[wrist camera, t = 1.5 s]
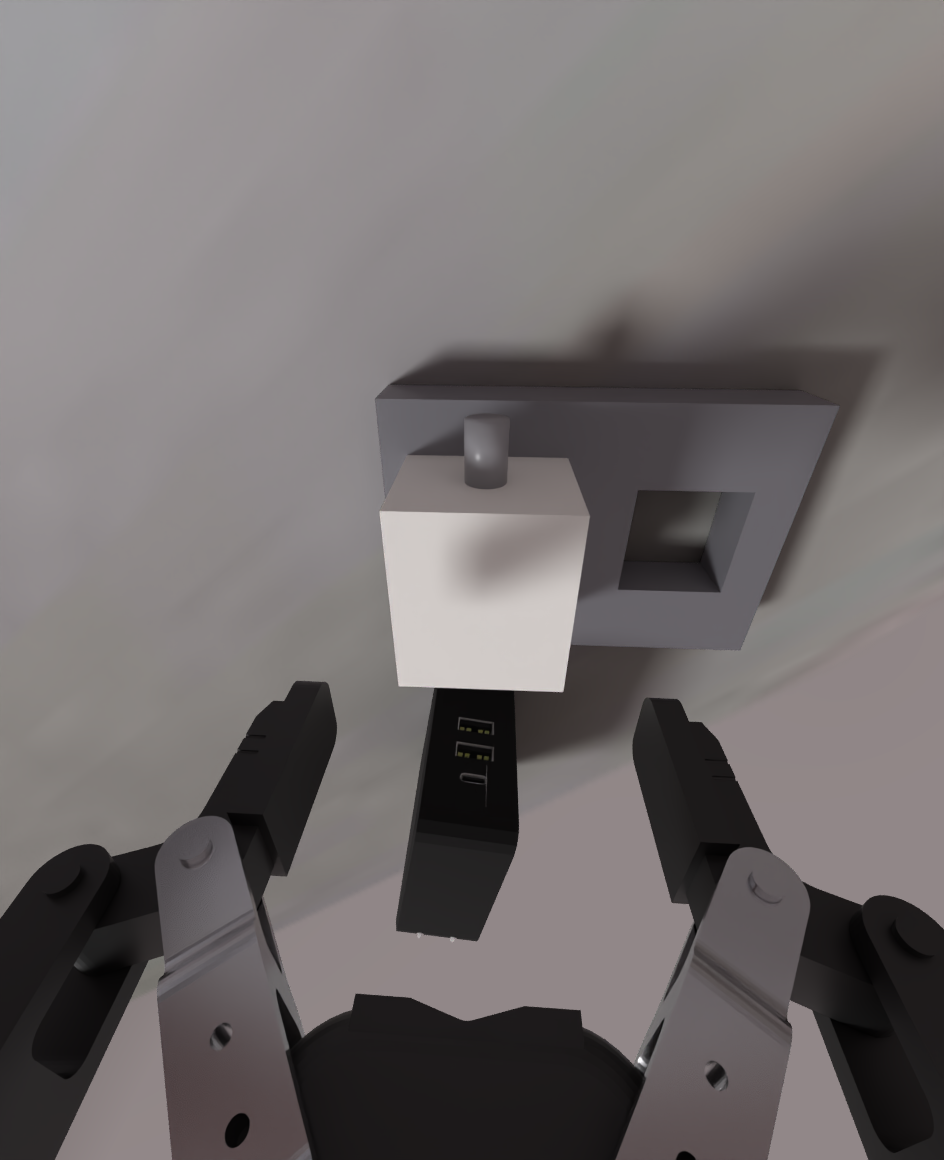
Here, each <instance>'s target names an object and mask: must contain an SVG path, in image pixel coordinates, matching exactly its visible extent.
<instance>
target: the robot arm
mask: <svg viewBox="0 0 944 1160" xmlns="http://www.w3.org/2000/svg"><path fill="white" fill-rule="evenodd" d="M336 734H337V723H336V717H335V713H334V708H333V703H332V698H331V694H330V689H329V685H328V683H326V682H312V681H296V682H295V683H294V684H293V686H292V688H291V689H290V691H289V693H288V695H287V697H286V699H285V701H273V702H271V703H270V704H269V705H268V706H267V707H266V708H265V709H264V710H263V711H262V712H260V713H259V714H258V715H257V716H256V718H255V719H254V721H253V723H252V725H251V727H250V728H249V730H248V732H247V734H246V738H244V739H243V741H242V742H241V744H240V746H239V748H238V749H237V750H238V752H237V753H235V755H234V757H233V758H232V760H231V762H230V764H229V765H228V767H227V769H226V771H225V772H224V774H223V776H222V778H221V780H220V781H219V783H218V785H217V787H216V788H215V790H214V792H213V794H212V795H211V797H210V799H209V801H208V802H207V804H206V806H205V808H204V809H203V811H202V813H201V814H200V815H199V817H198V818H196V819H194V820H192V821H189V822H188V823H186V824H184V825H182V826H181V827H180V828H178V829H177V830H176V831H174V832H173V833H172V834H171V835H170V836H169V837H168V838H167V839H166V841H165V842H164V843H162V844H159V845H155V846H152V847H148V848H144V849H140V850H136V851H132V852H129V853H125V854H121V855H117V856H113V857H111V856H110V855H109V853H108V852H107V851H106V849H105V848H103V847H102V846H99V845H95V844H86V845H80V846H76V847H73V848H70V849H68V850H66V851H64V852H62V853H60V854H58V855H57V856H55V857H53V858H52V859H51V860H49V861H48V862H46V863H45V864H44V865H43V866H42V867H41V868H39V869H38V870H37V871H36V872H35V873H34V874H33V876H32V877H31V878H30V879H29V881H28V882H27V883H26V885H25V886H24V887H23V889H22V890H21V891H20V893H19V894H18V895H17V897H16V898H15V900H14V901H13V902H12V904H11V905H10V906H9V908H8V909H7V910H6V912H5V913H4V915H3V916H2V917H1V919H0V1160H55V1158H56V1156H57V1154H58V1151H59V1149H60V1147H61V1145H62V1143H63V1141H64V1139H65V1137H66V1135H67V1133H68V1130H69V1128H70V1126H71V1124H72V1122H73V1120H74V1118H75V1116H76V1113H77V1111H78V1109H79V1107H80V1105H81V1103H82V1100H83V1099H84V1096H85V1094H86V1092H87V1090H88V1088H89V1086H90V1084H91V1082H92V1079H93V1077H94V1075H95V1073H96V1071H97V1068H98V1067H99V1065H100V1062H101V1060H102V1058H103V1056H104V1054H105V1051H106V1050H107V1048H108V1045H109V1043H110V1041H111V1039H112V1037H113V1035H114V1033H115V1030H116V1028H117V1026H118V1024H119V1022H120V1020H121V1018H122V1016H123V1014H124V1011H125V1009H126V1007H127V1005H128V1003H129V1001H130V999H131V997H132V994H133V992H134V990H135V988H136V986H137V984H138V982H139V980H140V977H141V975H142V973H143V971H144V969H145V967H146V965H147V963H148V960H151V959H154V958H157V957H160V956H164V960H165V972H164V975H163V976H162V977H160V979H159V981H158V986H157V1001H158V1013H159V1024H160V1034H161V1045H162V1056H163V1067H164V1077H165V1088H166V1098H167V1110H168V1120H169V1130H170V1141H171V1152H172V1160H767V1159H768V1154H769V1149H770V1144H771V1140H772V1135H773V1130H774V1125H775V1120H776V1116H777V1111H778V1106H779V1102H780V1097H781V1092H782V1087H783V1083H784V1078H785V1073H786V1068H787V1063H788V1059H789V1054H790V1048H791V1042H792V1026H791V1024H790V1023H789V1022H788V1021H787V1012H788V1006H789V1002H790V1000H791V1001H793V1002H795V1003H798V1004H800V1005H802V1006H805V1007H807V1008H809V1009H811V1010H812V1011H813V1013H814V1016H815V1019H816V1021H817V1024H818V1026H819V1029H820V1032H821V1035H822V1037H823V1040H824V1043H825V1045H826V1048H827V1051H828V1053H829V1056H830V1058H831V1061H832V1064H833V1067H834V1069H835V1072H836V1074H837V1077H838V1080H839V1082H840V1085H841V1087H842V1090H843V1093H844V1096H845V1098H846V1101H847V1104H848V1106H849V1109H850V1112H851V1114H852V1117H853V1120H854V1122H855V1125H856V1128H857V1130H858V1133H859V1136H860V1138H861V1141H862V1144H863V1146H864V1149H865V1152H866V1154H867V1157H868V1160H944V929H943V928H942V927H941V926H940V925H939V924H938V923H937V922H936V921H935V920H933V919H932V918H931V917H930V916H929V915H927V914H926V913H925V912H923V911H922V910H920V909H919V908H917V907H915V906H914V905H912V904H910V903H908V902H906V901H904V900H902V899H898V898H895V897H891V896H885V895H879V896H874V897H872V898H870V899H869V900H867V901H866V902H865V903H864V905H863V906H862V905H860V904H857V903H854V902H852V901H849V900H846V899H843V898H841V897H838V896H835V895H833V894H830V893H827V892H824V891H822V890H819V889H817V888H814V887H812V886H810V885H808V884H806V883H804V882H802V881H801V879H800V878H799V876H798V875H797V874H796V873H795V871H794V870H793V869H792V868H790V866H789V865H787V864H786V863H785V862H784V861H783V860H781V859H780V858H778V857H777V856H775V855H773V854H772V852H771V851H770V849H769V847H768V845H767V844H766V842H765V839H764V837H763V835H762V833H761V831H760V829H759V826H758V824H757V822H756V820H755V818H754V816H753V814H752V812H751V809H750V807H749V805H748V803H747V801H746V799H745V796H744V794H743V792H742V790H741V788H740V786H739V784H738V781H736V780H735V775H734V773H733V771H732V769H731V767H730V764H728V763H727V758H726V756H725V754H724V751H723V749H722V747H721V745H720V743H719V741H718V740H717V738H716V737H715V736H714V735H713V734H712V733H711V732H710V731H709V730H708V729H707V728H706V727H705V726H704V725H703V723H702V722H689V721H688V718H687V716H686V713H685V711H684V709H683V706H682V704H681V703H680V701H679V700H677V699H661V698H646V699H645V700H644V702H643V705H642V709H641V712H640V716H639V719H638V723H637V727H636V730H635V734H634V738H633V760H634V765H635V768H636V772H637V776H638V779H639V783H640V787H641V791H642V794H643V798H644V802H645V806H646V809H647V813H648V817H649V820H650V824H651V828H652V831H653V835H654V839H655V843H656V846H657V850H658V853H659V857H660V861H661V865H662V868H663V872H664V876H665V880H666V883H667V887H668V891H669V894H670V898H671V902H672V903H681V904H689V906H690V909H691V912H692V915H693V919H694V922H693V924H692V926H691V928H690V931H689V933H688V936H687V938H686V941H685V943H684V946H683V948H682V951H681V953H680V956H679V958H678V961H677V963H676V965H675V968H674V971H673V973H672V975H671V978H670V980H669V983H668V985H667V988H666V990H665V993H664V995H663V998H662V1000H661V1003H660V1005H659V1007H658V1010H657V1012H656V1014H655V1017H654V1019H653V1020H652V1023H651V1025H650V1027H649V1029H648V1031H647V1033H646V1036H645V1038H644V1040H643V1043H642V1045H641V1048H640V1050H639V1053H638V1055H637V1057H636V1060H635V1063H634V1065H633V1064H632V1063H631V1062H630V1061H629V1060H628V1059H627V1058H626V1057H625V1056H624V1055H623V1054H622V1053H621V1052H620V1051H619V1050H618V1049H617V1048H615V1047H614V1046H613V1045H611V1044H610V1043H609V1042H608V1041H606V1040H605V1039H603V1038H601V1037H600V1036H598V1035H597V1034H595V1033H593V1032H592V1031H590V1030H587V1029H585V1028H583V1027H582V1019H581V1011H580V1010H567V1009H555V1008H541V1007H527V1006H524V1007H520V1008H517V1009H513V1010H509V1011H505V1012H502V1013H498V1014H494V1015H491V1016H487V1017H483V1018H480V1019H476V1020H472V1021H463V1020H460V1019H457V1018H455V1017H453V1016H451V1015H448V1014H446V1013H444V1012H441V1011H439V1010H437V1009H435V1008H432V1007H430V1006H428V1005H425V1004H423V1003H420V1002H418V1001H416V1000H414V999H412V998H406V997H393V996H379V995H366V994H356V995H355V999H354V1004H353V1009H352V1010H351V1011H348V1012H345V1013H342V1014H340V1015H338V1016H335V1017H333V1018H331V1019H329V1020H327V1021H325V1022H324V1023H322V1024H320V1025H319V1026H317V1027H316V1028H314V1029H313V1030H312V1031H311V1032H309V1033H308V1034H307V1035H305V1034H304V1030H303V1027H302V1023H301V1020H300V1017H299V1014H298V1010H297V1007H296V1004H295V1002H294V999H293V996H292V993H291V990H290V987H289V985H288V982H287V978H286V975H285V971H284V968H283V964H282V961H281V957H280V954H279V950H278V946H277V943H276V940H275V936H274V932H273V929H272V925H271V921H270V918H269V914H268V911H267V907H266V904H265V900H264V897H263V893H264V891H265V888H266V885H267V883H268V880H269V878H270V875H272V876H287V875H288V872H289V869H290V866H291V864H292V861H293V858H294V855H295V853H296V850H297V847H298V844H299V842H300V839H301V836H302V833H303V831H304V828H305V825H306V822H307V820H308V817H309V814H310V811H311V809H312V806H313V803H314V800H315V798H316V795H317V792H318V789H319V787H320V784H321V781H322V778H323V776H324V773H325V770H326V767H327V765H328V762H329V759H330V756H331V754H332V751H333V748H334V745H335V740H336Z"/></svg>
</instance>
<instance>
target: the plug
mask: <svg viewBox="0 0 944 1160" xmlns="http://www.w3.org/2000/svg"><path fill="white" fill-rule="evenodd" d="M509 429H510V418H509V417H507V416H504V415H500V414H492V413H480V414H472V415H469V416H466V417H465V418H464V456H438V455H407V456H406V458H405V460H404V462H403V464H402V466H401V468H400V470H399V472H398V475H397V477H396V479H395V481H394V483H393V485H392V487H391V489H390V491H389V493H388V495H387V497H386V499H385V501H384V503H383V505H382V507H381V509H380V520H381V529H382V538H383V548H384V557H385V566H386V575H387V584H388V593H389V602H390V611H391V620H392V629H393V638H394V648H395V657H396V666H397V675H398V684H399V686H407V687H435V688H462V689H490V690H517V691H545V692H563V690H564V683H565V677H566V670H567V664H568V657H569V651H570V644H571V637H572V631H573V624H574V618H575V611H576V605H577V598H578V591H579V585H580V578H581V572H582V565H583V559H584V552H585V545H586V539H587V532H588V526H589V519H590V515H589V512H588V509H587V507H586V504H585V502H584V499H583V496H582V494H581V491H580V488H579V486H578V483H577V480H576V478H575V475H574V472H573V470H572V467H571V464H570V462H569V459H568V458H543V457H508V450H509Z"/></svg>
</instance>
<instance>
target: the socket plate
mask: <svg viewBox="0 0 944 1160" xmlns="http://www.w3.org/2000/svg"><path fill="white" fill-rule="evenodd" d="M375 403H376V413H377V423H378V433H379V443H380V452H381V462H382V472H383V482H384V492H385V499H386V497H387V495H388V493H389V491H390V489H391V487H392V485H393V483H394V481H395V479H396V477H397V475H398V472H399V470H400V468H401V466H402V464H403V462H404V460H405V458H406V456H407V455H438V456H464V418H465V417H466V416H469V415H472V414H480V413H492V414H500V415H504V416H507V417H509V418H510V429H509V450H508V457H543V458H568V459H569V462H570V464H571V467H572V470H573V472H574V475H575V478H576V480H577V483H578V486H579V488H580V491H581V494H582V496H583V499H584V502H585V504H586V507H587V509H588V512H589V515H590V519H589V526H588V532H587V539H586V545H585V552H584V559H583V565H582V572H581V578H580V585H579V591H578V598H577V605H576V611H575V618H574V624H573V631H572V637H571V644H570V645H590V646H621V647H652V648H682V649H713V650H741V647H742V645H743V642H744V640H745V637H746V635H747V633H748V630H749V628H750V625H751V623H752V620H753V618H754V615H755V613H756V610H757V608H758V606H759V603H760V601H761V598H762V596H763V593H764V591H765V588H766V586H767V584H768V581H769V579H770V576H771V574H772V571H773V569H774V566H775V564H776V561H777V559H778V557H779V554H780V552H781V549H782V547H783V544H784V542H785V539H786V537H787V535H788V532H789V530H790V527H791V525H792V522H793V520H794V517H795V515H796V512H797V510H798V508H799V505H800V503H801V500H802V498H803V495H804V493H805V490H806V488H807V485H808V483H809V481H810V478H811V476H812V473H813V471H814V468H815V466H816V463H817V461H818V459H819V456H820V454H821V451H822V449H823V446H824V444H825V441H826V439H827V436H828V434H829V432H830V429H831V427H832V424H833V422H834V419H835V417H836V414H837V412H838V410H839V407H840V405H837V404H835V403H832V402H829V401H827V400H824V399H822V398H819V397H817V396H814V395H812V394H809V393H807V392H804V391H801V390H741V389H669V388H596V387H523V386H450V385H388V386H387V387H386V388H385V389H384V390H383V391H382V392H381V393H380V394H379V395H378V396H377V397H376V398H375ZM638 490H658V491H705V492H722V493H721V496H720V500H719V503H718V506H717V510H716V513H715V516H714V519H713V523H712V526H711V529H710V532H709V536H708V539H707V542H706V545H705V549H704V552H703V555H702V558H701V562H700V563H682V562H644V561H624V557H625V552H626V547H627V542H628V537H629V532H630V527H631V523H632V518H633V513H634V508H635V503H636V498H637V493H638Z"/></svg>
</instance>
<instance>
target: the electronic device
mask: <svg viewBox="0 0 944 1160" xmlns="http://www.w3.org/2000/svg"><path fill="white" fill-rule="evenodd" d="M518 834H519V813H518V787H517V760H516V733H515V706H514V690H490V689H462V688H434V693H433V699H432V704H431V710H430V715H429V721H428V726H427V732H426V737H425V743H424V748H423V754H422V759H421V765H420V771H419V778H418V784H417V790H416V797H415V803H414V810H413V816H412V822H411V829H410V835H409V841H408V848H407V854H406V860H405V867H404V873H403V880H402V886H401V892H400V899H399V905H398V911H397V918H396V931H401V932H409V933H417V937H418V938H420V937H421V934H422V933H424V935H432V936H439V937H448V938H450V941H451V942H454V939H455V937H456V938H457V939H463V940H471V941H477V940H478V939H479V937H480V934H481V932H482V930H483V927H484V925H485V923H486V920H487V918H488V915H489V913H490V911H491V908H492V906H493V904H494V902H495V899H496V897H497V894H498V892H499V890H500V888H501V885H502V883H503V880H504V878H505V876H506V873H507V871H508V869H509V866H510V864H511V862H512V859H513V857H514V854H515V851H516V847H517V842H518Z"/></svg>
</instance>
